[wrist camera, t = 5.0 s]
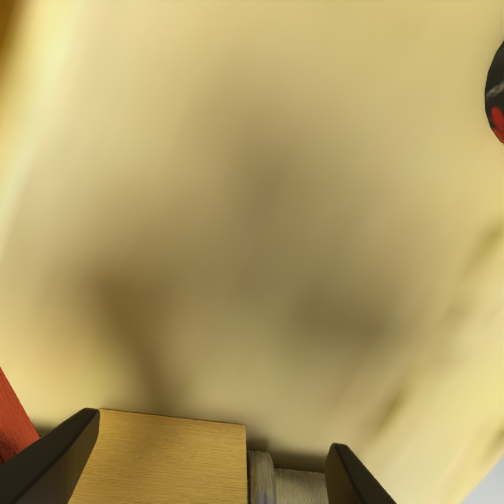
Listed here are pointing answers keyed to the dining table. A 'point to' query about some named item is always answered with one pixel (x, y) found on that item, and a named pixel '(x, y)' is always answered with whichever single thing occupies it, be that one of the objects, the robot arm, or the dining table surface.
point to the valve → (186, 466)
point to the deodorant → (496, 94)
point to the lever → (13, 423)
